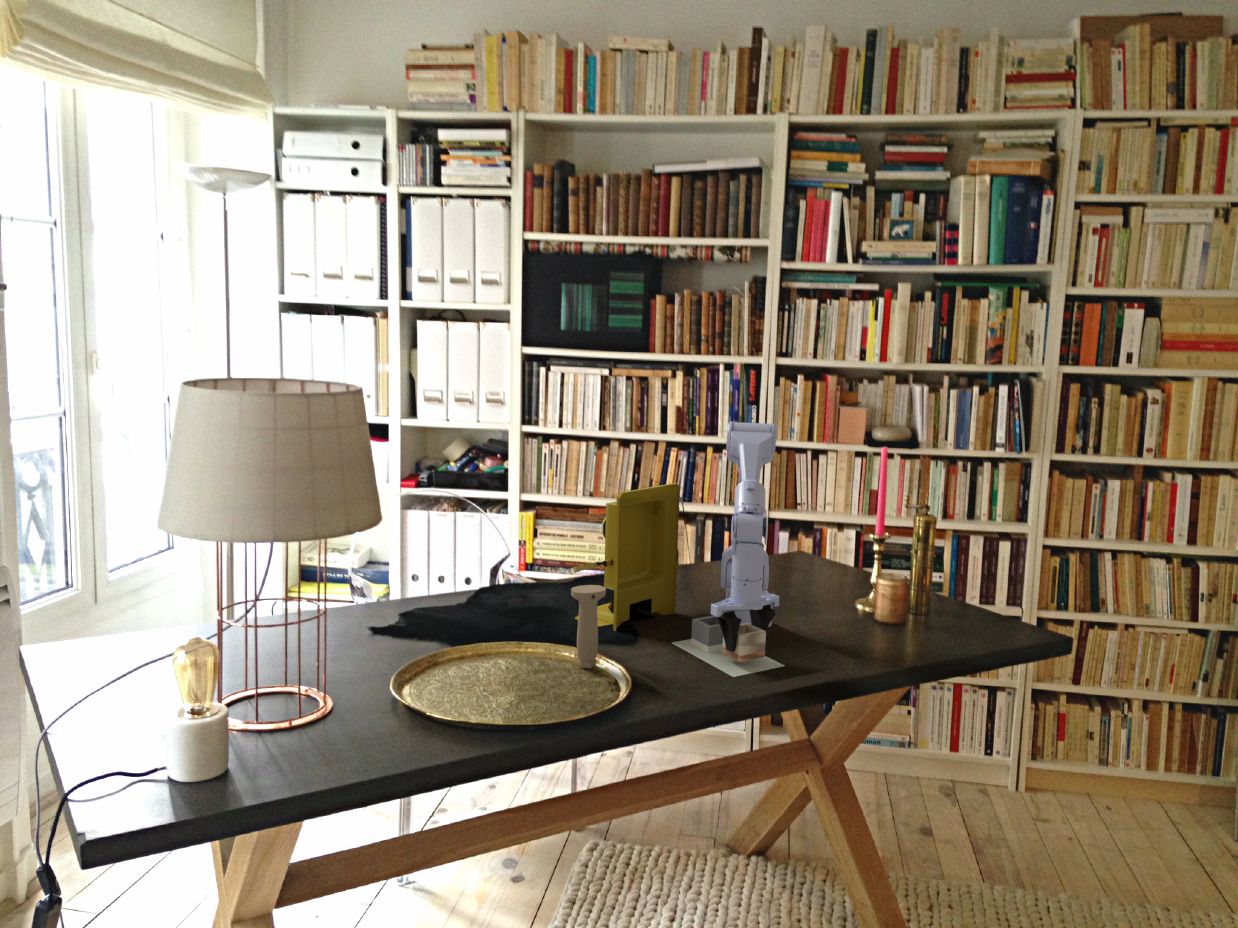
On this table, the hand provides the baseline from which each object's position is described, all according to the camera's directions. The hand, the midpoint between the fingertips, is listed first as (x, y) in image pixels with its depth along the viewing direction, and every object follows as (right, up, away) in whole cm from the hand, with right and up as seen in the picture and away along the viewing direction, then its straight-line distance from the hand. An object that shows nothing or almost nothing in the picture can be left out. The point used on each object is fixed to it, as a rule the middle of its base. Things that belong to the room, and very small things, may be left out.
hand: (743, 647), depth 189 cm
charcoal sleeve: (-5, -1, +9) cm, 10 cm away
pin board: (-3, -4, +5) cm, 7 cm away
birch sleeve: (0, -1, 0) cm, 1 cm away
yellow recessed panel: (-22, +1, +28) cm, 36 cm away
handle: (-29, -4, +1) cm, 30 cm away
